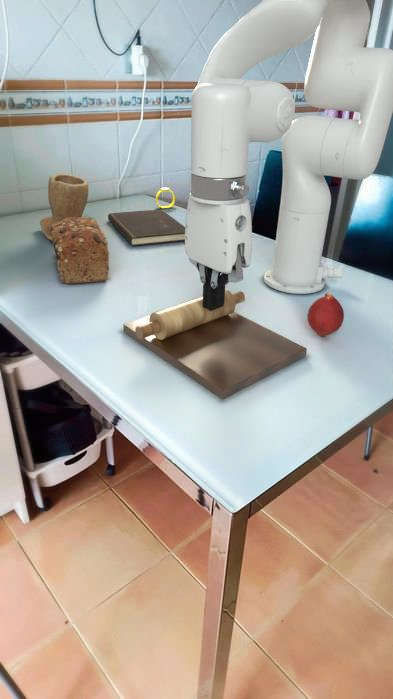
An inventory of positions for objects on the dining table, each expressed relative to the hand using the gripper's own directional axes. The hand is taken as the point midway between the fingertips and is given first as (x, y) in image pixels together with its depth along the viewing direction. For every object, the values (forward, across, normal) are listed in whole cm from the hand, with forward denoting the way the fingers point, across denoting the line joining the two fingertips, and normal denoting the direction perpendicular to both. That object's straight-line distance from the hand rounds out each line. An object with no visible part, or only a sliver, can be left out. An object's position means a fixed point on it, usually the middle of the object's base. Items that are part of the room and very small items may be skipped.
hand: (213, 306), depth 75 cm
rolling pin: (+5, +4, +1) cm, 6 cm away
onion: (+7, -10, -16) cm, 20 cm away
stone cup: (+7, +63, -7) cm, 64 cm away
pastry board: (+6, -1, +1) cm, 6 cm away
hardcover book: (+8, +55, -27) cm, 61 cm away
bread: (+7, +41, +1) cm, 42 cm away
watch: (+8, +71, -45) cm, 85 cm away
